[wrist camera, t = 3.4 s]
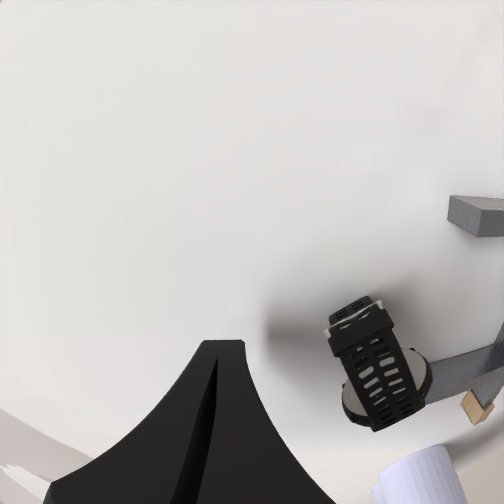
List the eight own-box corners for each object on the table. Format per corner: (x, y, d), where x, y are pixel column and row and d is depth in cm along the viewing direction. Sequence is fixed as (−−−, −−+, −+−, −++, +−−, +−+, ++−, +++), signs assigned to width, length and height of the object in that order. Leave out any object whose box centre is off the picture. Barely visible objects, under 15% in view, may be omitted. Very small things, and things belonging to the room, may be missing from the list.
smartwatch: (315, 366, 12) (335, 460, 8) (307, 267, 10) (343, 365, 6) (397, 347, 12) (439, 427, 7) (408, 249, 10) (485, 322, 5)
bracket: (471, 400, 15) (483, 421, 13) (381, 429, 15) (390, 457, 13) (547, 114, 7) (578, 120, 5) (449, 71, 7) (489, 64, 5)
